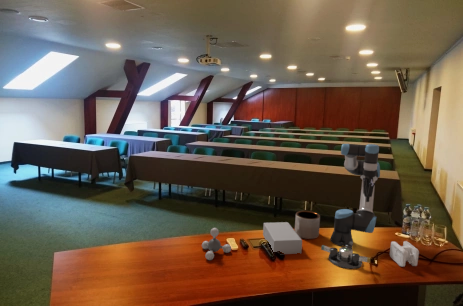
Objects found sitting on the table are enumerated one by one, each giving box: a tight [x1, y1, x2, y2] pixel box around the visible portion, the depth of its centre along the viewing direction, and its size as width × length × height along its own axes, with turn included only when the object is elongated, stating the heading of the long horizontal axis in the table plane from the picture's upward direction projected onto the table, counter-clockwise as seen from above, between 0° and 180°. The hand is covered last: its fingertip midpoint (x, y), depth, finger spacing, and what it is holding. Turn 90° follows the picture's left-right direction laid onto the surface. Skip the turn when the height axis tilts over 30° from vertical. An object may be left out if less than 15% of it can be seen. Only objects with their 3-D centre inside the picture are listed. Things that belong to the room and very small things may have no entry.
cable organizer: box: [389, 240, 420, 268], centre depth 201 cm, size 15×11×12 cm
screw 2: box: [351, 252, 371, 266], centre depth 194 cm, size 10×4×6 cm, turn 69°
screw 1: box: [344, 241, 354, 250], centre depth 210 cm, size 10×4×6 cm, turn 148°
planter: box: [294, 210, 321, 240], centre depth 238 cm, size 18×18×16 cm
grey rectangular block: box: [320, 244, 339, 260], centre depth 204 cm, size 10×4×6 cm, turn 46°
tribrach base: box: [328, 246, 363, 270], centre depth 202 cm, size 20×20×8 cm
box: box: [262, 221, 303, 255], centre depth 223 cm, size 19×30×10 cm, turn 8°
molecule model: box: [201, 227, 232, 261], centre depth 206 cm, size 20×16×20 cm
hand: (366, 206), depth 202 cm, fingers closed
